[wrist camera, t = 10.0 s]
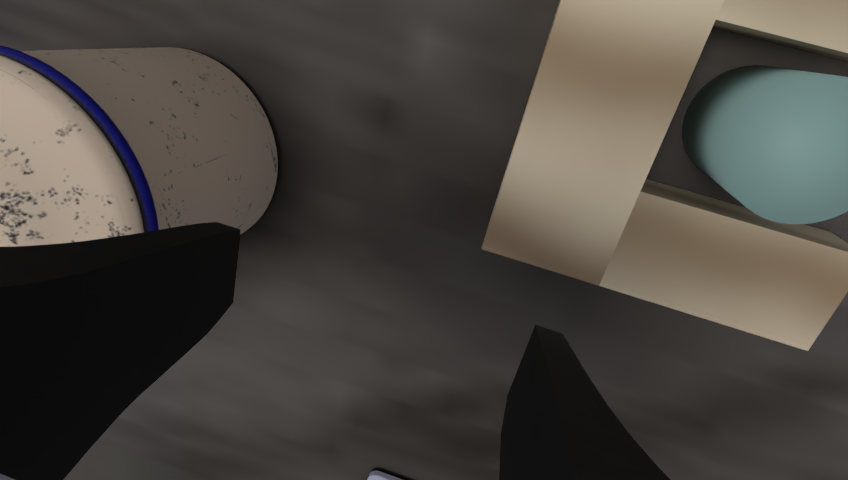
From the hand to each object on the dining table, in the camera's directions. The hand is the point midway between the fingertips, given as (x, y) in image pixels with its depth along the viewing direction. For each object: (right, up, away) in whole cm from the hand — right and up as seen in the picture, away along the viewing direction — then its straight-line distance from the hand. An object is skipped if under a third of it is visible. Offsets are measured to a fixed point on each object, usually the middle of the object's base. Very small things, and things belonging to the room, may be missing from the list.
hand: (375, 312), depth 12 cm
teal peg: (+12, +6, +6) cm, 15 cm away
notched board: (+11, +6, +7) cm, 14 cm away
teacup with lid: (-10, +5, +12) cm, 16 cm away
